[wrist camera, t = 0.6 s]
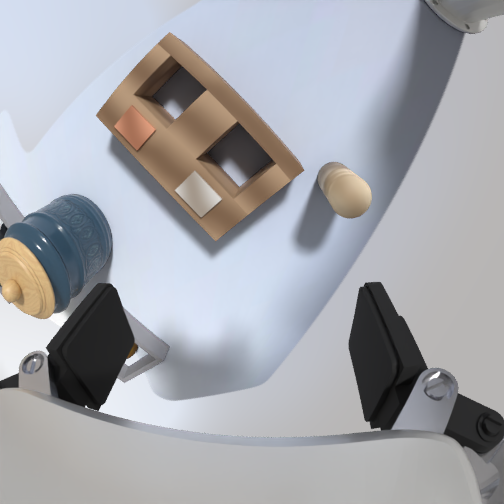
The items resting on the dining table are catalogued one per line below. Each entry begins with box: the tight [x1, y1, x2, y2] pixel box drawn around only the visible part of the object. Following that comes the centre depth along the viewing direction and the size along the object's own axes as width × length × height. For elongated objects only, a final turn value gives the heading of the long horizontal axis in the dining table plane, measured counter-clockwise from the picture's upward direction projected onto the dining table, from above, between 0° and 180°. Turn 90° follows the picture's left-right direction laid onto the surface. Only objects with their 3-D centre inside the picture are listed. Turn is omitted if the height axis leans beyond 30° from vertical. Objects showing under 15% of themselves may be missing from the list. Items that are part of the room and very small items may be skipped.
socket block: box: [96, 32, 304, 241], centre depth 27 cm, size 12×20×5 cm, turn 41°
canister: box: [0, 194, 112, 319], centre depth 29 cm, size 13×13×18 cm
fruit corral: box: [117, 308, 169, 383], centre depth 45 cm, size 15×14×4 cm
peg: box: [318, 162, 372, 218], centre depth 28 cm, size 4×4×8 cm
